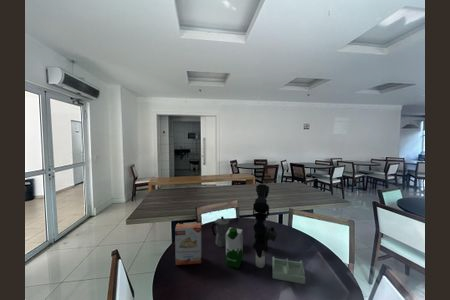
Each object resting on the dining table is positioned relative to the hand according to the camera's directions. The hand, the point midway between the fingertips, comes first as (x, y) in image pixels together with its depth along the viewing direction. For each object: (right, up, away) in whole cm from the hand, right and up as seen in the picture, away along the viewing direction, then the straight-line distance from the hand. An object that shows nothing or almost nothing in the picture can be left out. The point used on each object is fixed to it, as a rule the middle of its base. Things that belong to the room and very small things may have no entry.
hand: (260, 252), depth 99 cm
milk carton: (-14, -7, +2) cm, 16 cm away
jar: (0, -7, 0) cm, 7 cm away
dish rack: (+13, -7, -6) cm, 16 cm away
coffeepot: (-22, -6, +20) cm, 30 cm away
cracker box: (-40, -7, +3) cm, 40 cm away
